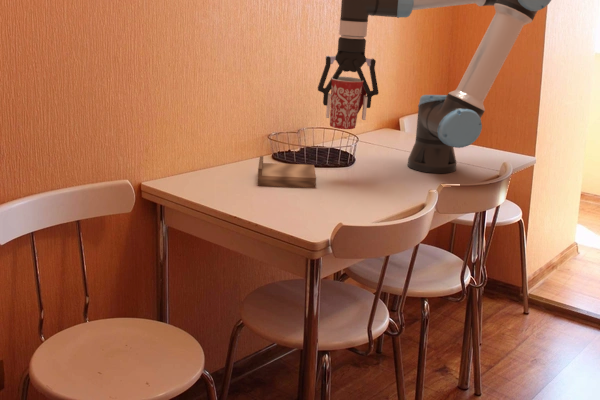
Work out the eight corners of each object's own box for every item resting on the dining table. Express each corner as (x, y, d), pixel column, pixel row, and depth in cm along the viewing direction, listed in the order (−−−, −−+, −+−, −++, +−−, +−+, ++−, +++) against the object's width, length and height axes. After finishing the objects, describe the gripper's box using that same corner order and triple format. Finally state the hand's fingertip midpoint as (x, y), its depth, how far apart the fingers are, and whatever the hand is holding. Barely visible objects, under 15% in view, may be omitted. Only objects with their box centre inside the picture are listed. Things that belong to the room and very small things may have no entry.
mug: (342, 131, 191) (347, 81, 187) (319, 124, 197) (324, 76, 193) (373, 128, 199) (379, 80, 195) (350, 121, 206) (355, 75, 202)
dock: (313, 174, 207) (314, 158, 206) (315, 188, 194) (316, 170, 192) (259, 172, 207) (259, 156, 205) (257, 186, 193) (258, 168, 192)
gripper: (390, 38, 195) (382, 118, 202) (311, 33, 194) (306, 113, 201) (394, 40, 188) (386, 123, 194) (312, 35, 187) (306, 118, 194)
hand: (345, 118), depth 198 cm, fingers closed on mug, 9 cm apart
